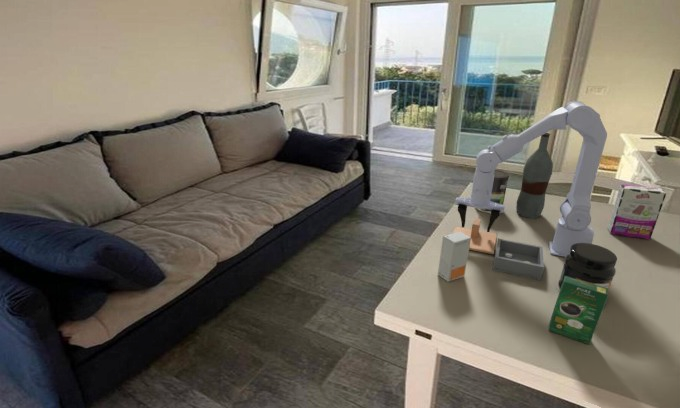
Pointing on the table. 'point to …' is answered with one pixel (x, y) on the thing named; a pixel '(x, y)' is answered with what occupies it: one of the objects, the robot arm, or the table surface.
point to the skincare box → (454, 256)
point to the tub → (519, 259)
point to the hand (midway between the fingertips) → (475, 228)
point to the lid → (479, 238)
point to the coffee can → (498, 188)
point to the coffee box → (578, 309)
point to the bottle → (535, 181)
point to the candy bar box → (636, 211)
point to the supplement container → (589, 264)
